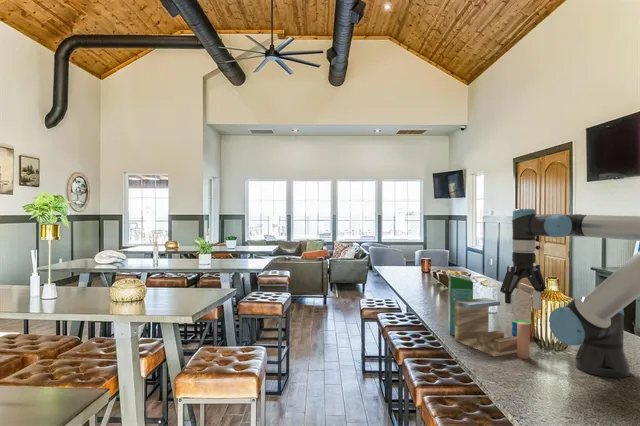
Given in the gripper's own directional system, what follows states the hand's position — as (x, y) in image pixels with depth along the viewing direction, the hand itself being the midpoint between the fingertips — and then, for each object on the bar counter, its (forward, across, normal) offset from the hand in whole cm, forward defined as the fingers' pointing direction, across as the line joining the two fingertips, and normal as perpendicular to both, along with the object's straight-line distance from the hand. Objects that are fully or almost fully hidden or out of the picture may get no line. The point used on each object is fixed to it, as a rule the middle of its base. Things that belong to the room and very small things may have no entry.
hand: (523, 311), depth 154 cm
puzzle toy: (+17, -22, -19) cm, 34 cm away
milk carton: (+16, -1, -33) cm, 37 cm away
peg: (+17, 0, 0) cm, 17 cm away
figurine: (+17, -28, +3) cm, 33 cm away
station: (+16, +1, -15) cm, 22 cm away
